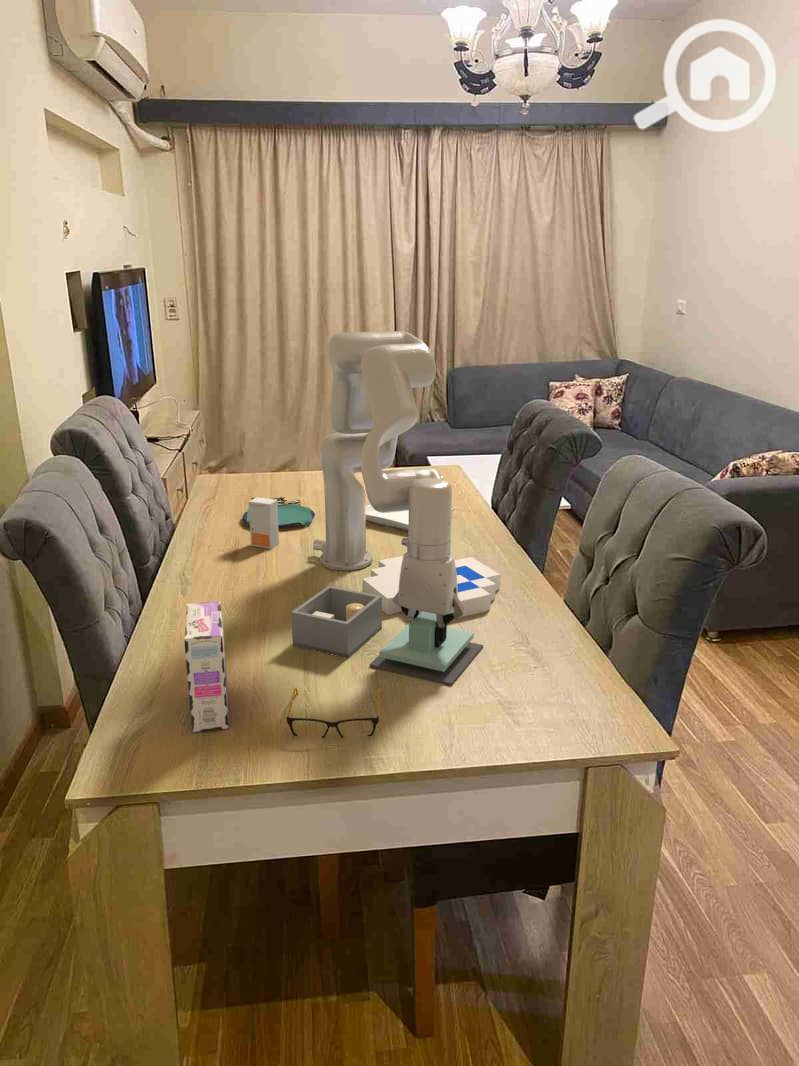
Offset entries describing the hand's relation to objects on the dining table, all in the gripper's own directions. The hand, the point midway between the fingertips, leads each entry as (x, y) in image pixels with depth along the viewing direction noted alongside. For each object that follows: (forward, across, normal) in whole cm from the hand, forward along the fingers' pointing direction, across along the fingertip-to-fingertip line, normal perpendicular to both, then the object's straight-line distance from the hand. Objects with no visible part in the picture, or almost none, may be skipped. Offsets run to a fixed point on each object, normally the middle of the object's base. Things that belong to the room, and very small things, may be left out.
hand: (427, 640), depth 151 cm
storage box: (+3, -19, 0) cm, 19 cm away
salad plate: (+4, -38, +72) cm, 82 cm away
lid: (+1, 0, 0) cm, 1 cm away
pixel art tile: (+4, -11, +28) cm, 30 cm away
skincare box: (+4, -61, +37) cm, 71 cm away
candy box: (+4, -25, -32) cm, 41 cm away
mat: (+3, 0, 0) cm, 3 cm away
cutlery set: (+4, -72, +60) cm, 94 cm away
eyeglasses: (+4, -6, -25) cm, 26 cm away
